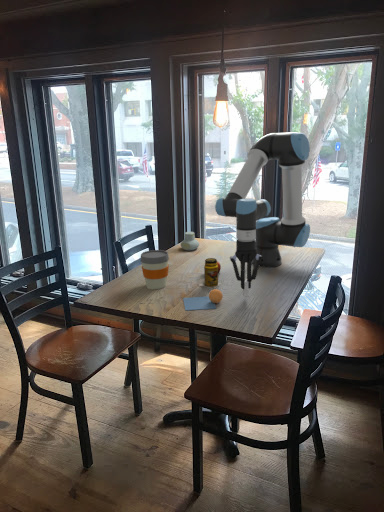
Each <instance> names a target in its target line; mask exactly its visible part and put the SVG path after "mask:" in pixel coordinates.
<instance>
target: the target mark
mask: <svg viewBox="0 0 384 512" xmlns="http://www.w3.org/2000/svg"><path fill="white" fill-rule="evenodd" d="M182 299H183V304H184V310H185V311H187V312H188V311H201V310H212V309H217V306H216V303H213V302H212V301H210V299H209V295H206V296H195V297H193V296H191V297H183V298H182Z"/></svg>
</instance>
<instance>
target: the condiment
mask: <svg viewBox="0 0 384 512" xmlns="http://www.w3.org/2000/svg"><path fill="white" fill-rule="evenodd" d="M217 261H218V259H216V258H214V257H208V258H206V259H204V265H203V266H204V267H203V268H204V269H203V270H204V271H203V272H204V280H203V281H202V282H200V283H199V284H198V285H197V286H198V287H203V288H204V287H205V288H209V289H217V288H218V286H220V285H221V284H222V282H219V274H218V265H217ZM204 285H205V286H204Z"/></svg>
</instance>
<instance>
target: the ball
mask: <svg viewBox="0 0 384 512" xmlns="http://www.w3.org/2000/svg"><path fill="white" fill-rule="evenodd" d="M208 296H209V299H210V301H212V302H213V303H215V304H218V303H220V302H221V301H222V299H223V298H224V297H223V293H222V291H221V290H220V289H217V288H212V290H210V291H209V292H208Z"/></svg>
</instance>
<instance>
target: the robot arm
mask: <svg viewBox="0 0 384 512" xmlns="http://www.w3.org/2000/svg"><path fill="white" fill-rule="evenodd" d="M310 149H311V148H310V141H309V138H308V136H307V134H305V133H303V132H296V131H294V132H293V131H291V132H270V133H268V134H266V135H264V136H262V137H261V138H260V139H258V140H257V141H256V142H255V143H254V144H252V146H251V147H250V149H249V150H248V153H247V159H246V160H245V162H244V164H243V166H242V167H241V170H240V171H239V173H238V175H237V177H236V178H235V180H234V182H233V184H232V185H231V187H230V189H229V191H228V192H227V194H226V196H225V197H220V198H218V199H217V200H216V202H215V206H214V209H215V212H216V214H217V215H218V216H219V217H220V216H222V217H225V218H227V217H228V218H235V219H236V227H235V228H236V231H235V233H236V237H235V238H236V240H235V242H236V245H235V247H236V248H235V249H236V250H235V252H234V255H232V256H230V257H229V260H230V261H231V263H232V266H233V271H234V274H235V279H236V280H237V282H238V281H239V282H240V288H241V290H243V293H242V295H243V297H244V298H249V289H251V288H252V281H253V280H256V279H257V275H258V272H259V268H260V267H264V268H266V267H267V268H268V267H269V268H270V267H271V268H272V267H276V266H277V267H278V266H280V265H281V264H282V255H281V253H280V249H279V246H283V247H284V246H285V247H286V246H287V247H292V248H304V247H305V246H306V244H307V242H308V239H309V237H310V234H311V233H310V232H311V226H310V224H309V223H306V218H305V217H304V216H303V191H302V190H303V187H302V186H303V184H302V183H303V181H302V179H303V177H302V176H303V175H302V167H303V166H304V164H306V160H308V159H309V156H310V152H311V151H310ZM271 160H275V161H276V160H277V161H278V166H279V168H281V175H282V177H281V179H282V181H281V182H282V206H283V217H282V218H281V219H280V218H279V217H278V216H277V217H276V216H273V217H271V216H270V217H268V216H269V215H270V214H271V211H272V207H271V204H270V202H269V201H268V200H266V199H263V198H262V199H261V198H260V199H259V198H258V199H257V200H256V199H254V198H248V197H247V196H248V194H249V192H250V190H251V189H252V186H253V185H254V183H255V181H256V179H257V178H258V176H259V174H260V172H261V170H262V168H263V167H264V166H265V165H267V163H268V162H269V161H271ZM246 197H247V198H246ZM237 260H238V261H239V263H240V271H239V269H238V265H237ZM252 264H253V265H252ZM252 266H253V269H252Z"/></svg>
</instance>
